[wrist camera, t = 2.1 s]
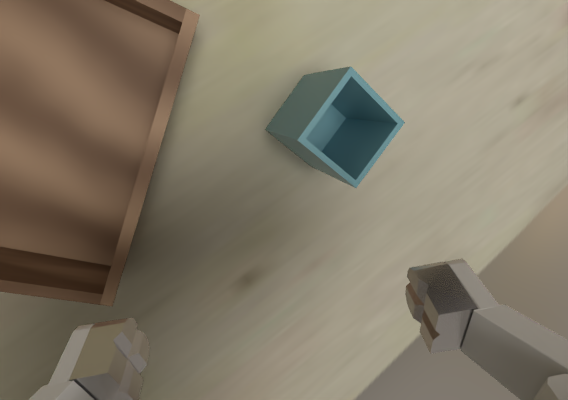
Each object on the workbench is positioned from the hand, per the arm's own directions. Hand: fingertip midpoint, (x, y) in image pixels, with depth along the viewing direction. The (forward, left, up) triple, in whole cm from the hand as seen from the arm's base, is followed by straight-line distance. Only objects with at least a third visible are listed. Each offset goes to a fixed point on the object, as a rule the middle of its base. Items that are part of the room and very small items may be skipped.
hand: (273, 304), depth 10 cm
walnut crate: (0, +12, -19) cm, 23 cm away
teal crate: (+7, -7, -19) cm, 22 cm away
